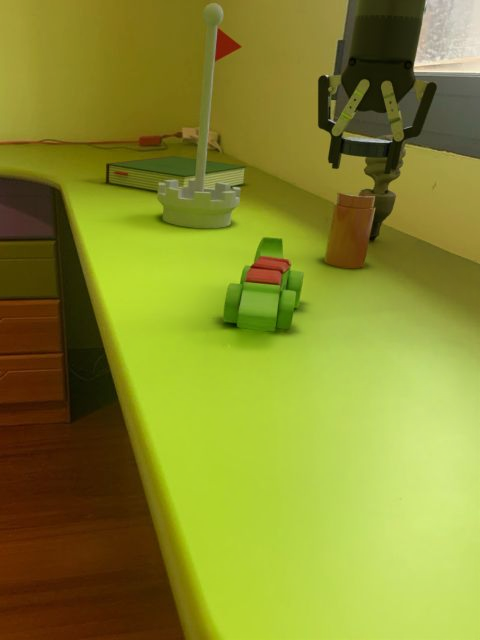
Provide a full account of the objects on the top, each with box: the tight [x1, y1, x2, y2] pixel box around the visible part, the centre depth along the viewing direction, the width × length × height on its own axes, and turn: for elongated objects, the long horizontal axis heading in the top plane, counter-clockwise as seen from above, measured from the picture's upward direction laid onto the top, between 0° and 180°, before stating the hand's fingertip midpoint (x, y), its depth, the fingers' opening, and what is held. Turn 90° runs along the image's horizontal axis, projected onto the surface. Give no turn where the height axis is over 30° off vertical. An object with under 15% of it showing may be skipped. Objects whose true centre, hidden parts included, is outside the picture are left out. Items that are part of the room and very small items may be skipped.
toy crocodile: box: [222, 236, 305, 332], centre depth 69 cm, size 20×7×6 cm, turn 164°
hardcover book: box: [105, 155, 247, 193], centre depth 143 cm, size 25×19×4 cm
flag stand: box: [156, 2, 243, 229], centre depth 104 cm, size 13×13×30 cm
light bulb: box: [360, 134, 407, 242], centre depth 101 cm, size 6×6×15 cm
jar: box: [323, 190, 375, 269], centre depth 90 cm, size 5×5×9 cm
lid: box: [340, 136, 391, 158], centre depth 85 cm, size 6×6×2 cm
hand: (361, 170), depth 86 cm, fingers closed on lid, 5 cm apart
